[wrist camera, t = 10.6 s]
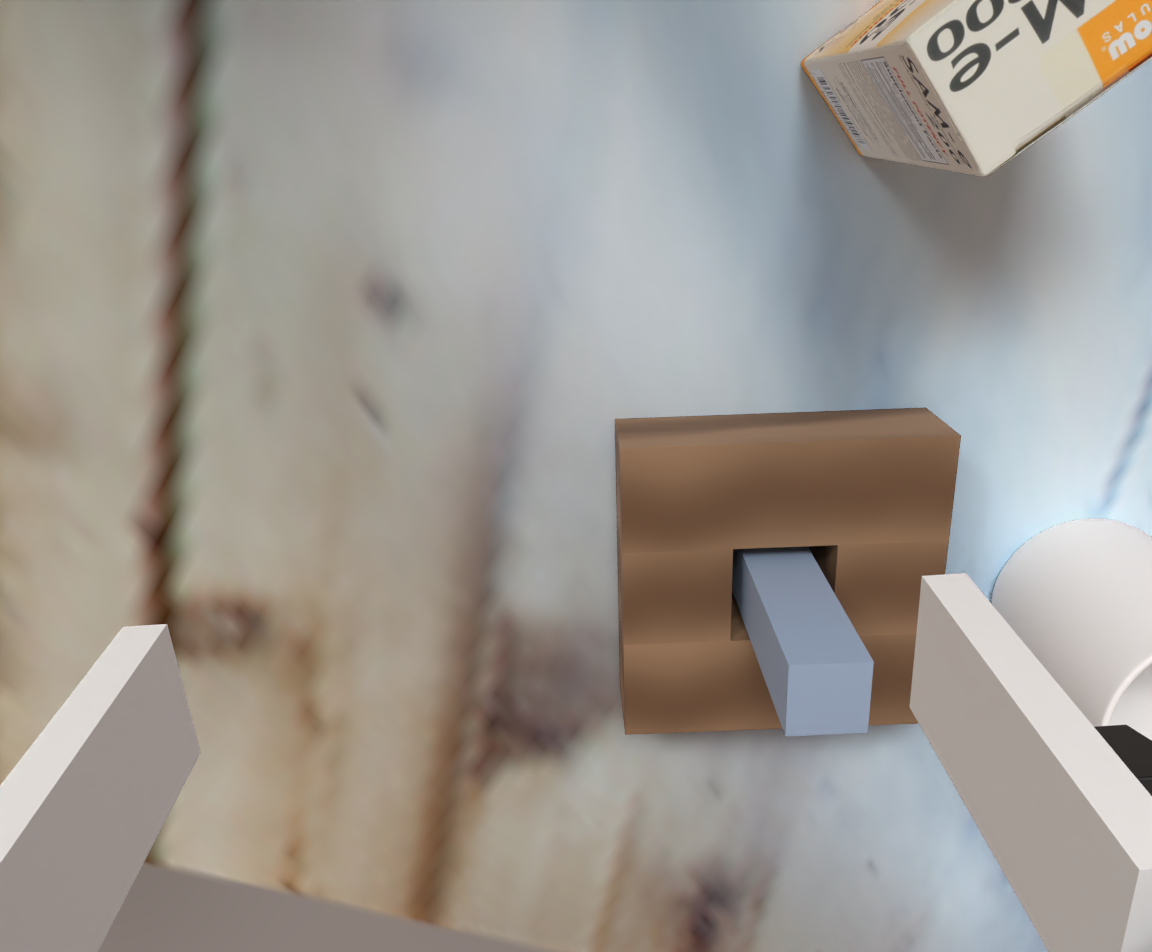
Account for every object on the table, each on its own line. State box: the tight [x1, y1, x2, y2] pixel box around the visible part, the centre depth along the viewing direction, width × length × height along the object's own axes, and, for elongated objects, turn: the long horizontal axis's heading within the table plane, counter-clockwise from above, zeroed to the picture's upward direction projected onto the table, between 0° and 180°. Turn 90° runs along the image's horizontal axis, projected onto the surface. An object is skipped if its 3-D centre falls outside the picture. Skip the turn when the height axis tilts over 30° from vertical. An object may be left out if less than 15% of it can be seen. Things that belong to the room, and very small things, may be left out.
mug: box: [991, 518, 1152, 740], centre depth 42 cm, size 9×12×11 cm
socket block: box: [615, 408, 961, 735], centre depth 43 cm, size 14×14×4 cm
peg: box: [732, 546, 874, 736], centre depth 40 cm, size 3×3×12 cm
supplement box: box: [801, 0, 1152, 177], centre depth 31 cm, size 8×5×13 cm, turn 128°
